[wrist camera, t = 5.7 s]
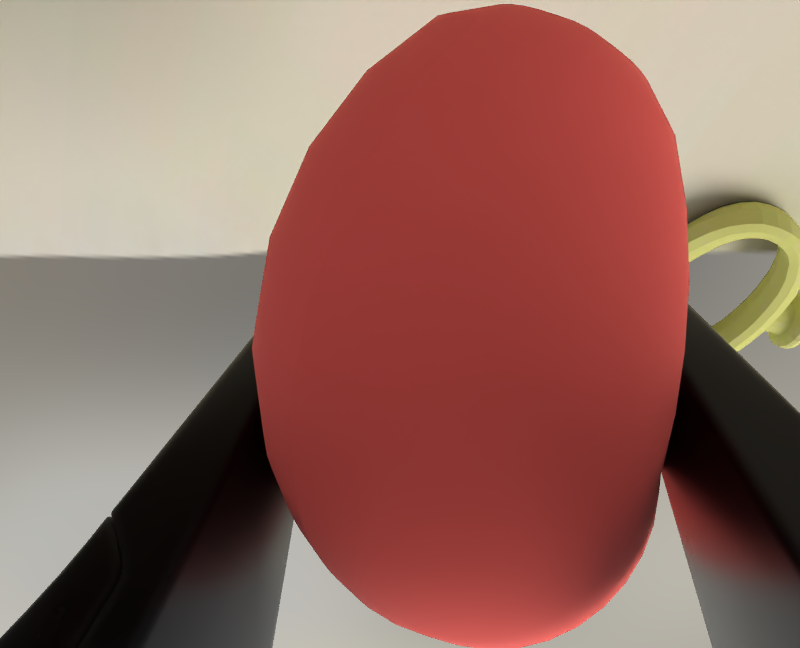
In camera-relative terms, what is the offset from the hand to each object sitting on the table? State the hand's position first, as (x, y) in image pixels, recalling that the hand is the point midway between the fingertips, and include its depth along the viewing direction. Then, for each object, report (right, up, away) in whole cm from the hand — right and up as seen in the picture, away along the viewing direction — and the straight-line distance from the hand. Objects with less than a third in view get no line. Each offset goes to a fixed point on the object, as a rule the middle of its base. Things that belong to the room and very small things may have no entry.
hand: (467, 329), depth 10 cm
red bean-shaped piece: (0, +1, +1) cm, 1 cm away
